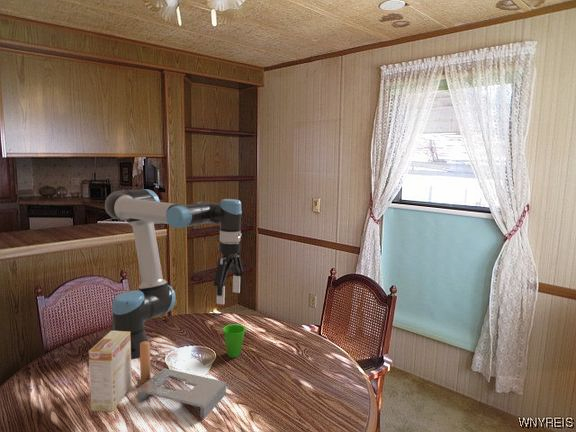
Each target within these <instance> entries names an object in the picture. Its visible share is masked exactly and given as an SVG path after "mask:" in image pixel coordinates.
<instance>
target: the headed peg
mask: <svg viewBox="0 0 576 432" xmlns="http://www.w3.org/2000/svg"><path fill="white" fill-rule="evenodd" d="M148 341H149V340H148ZM148 341H144V342H141V343H140V357H139V366H140V368H139V370H140V379H139V380H138V381H137V389H138V388H139V387H140V386H142V385H143V384H144V383H146V382H147V381H148V380H150V379H151V378H152V377H151V341H149V342H148Z"/></svg>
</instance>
